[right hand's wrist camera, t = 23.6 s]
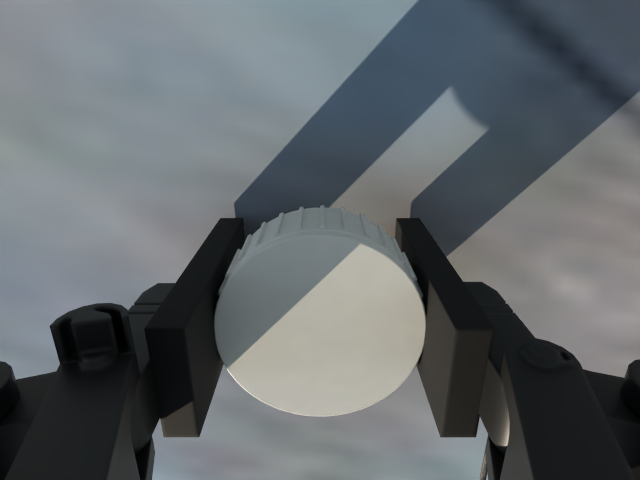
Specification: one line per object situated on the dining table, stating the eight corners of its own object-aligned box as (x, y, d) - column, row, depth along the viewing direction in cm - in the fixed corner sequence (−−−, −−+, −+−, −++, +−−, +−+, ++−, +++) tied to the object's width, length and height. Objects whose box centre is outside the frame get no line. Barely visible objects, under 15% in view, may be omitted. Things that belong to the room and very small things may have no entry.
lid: (448, 299, 12) (473, 344, 10) (311, 394, 14) (310, 449, 12) (331, 163, 11) (333, 183, 9) (190, 283, 12) (164, 324, 10)
